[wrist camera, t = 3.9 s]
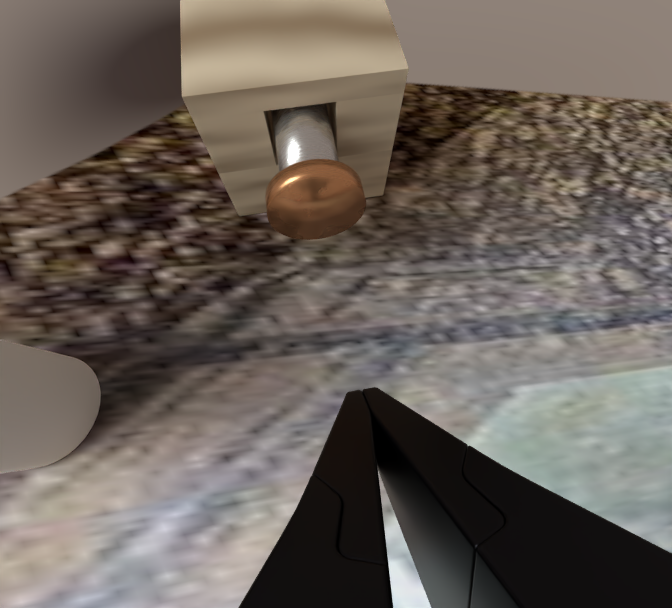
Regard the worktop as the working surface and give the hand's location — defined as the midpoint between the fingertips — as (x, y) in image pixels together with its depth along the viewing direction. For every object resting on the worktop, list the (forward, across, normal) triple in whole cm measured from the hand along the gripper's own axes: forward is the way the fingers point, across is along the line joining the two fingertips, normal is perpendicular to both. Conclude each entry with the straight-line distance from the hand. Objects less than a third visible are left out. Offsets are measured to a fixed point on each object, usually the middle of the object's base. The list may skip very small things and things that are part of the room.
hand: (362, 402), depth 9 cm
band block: (+24, 0, +5) cm, 25 cm away
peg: (+17, 0, +4) cm, 18 cm away
